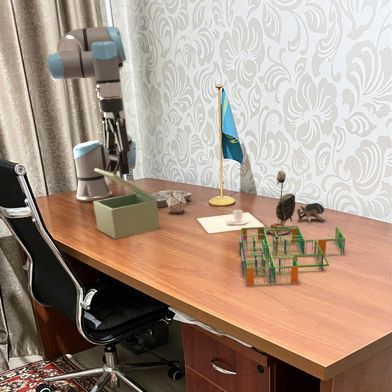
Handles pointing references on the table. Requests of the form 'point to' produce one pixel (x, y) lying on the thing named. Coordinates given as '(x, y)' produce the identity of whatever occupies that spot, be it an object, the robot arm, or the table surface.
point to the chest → (126, 215)
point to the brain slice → (166, 194)
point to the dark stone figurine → (283, 206)
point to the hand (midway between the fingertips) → (119, 172)
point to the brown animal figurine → (311, 211)
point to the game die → (176, 202)
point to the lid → (119, 180)
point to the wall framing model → (295, 239)
